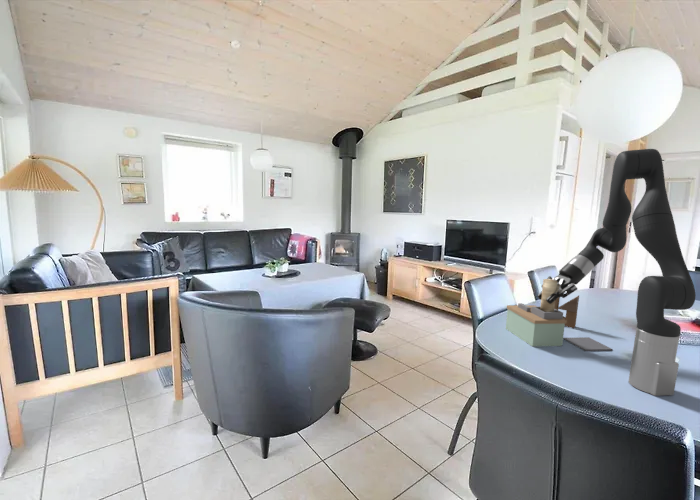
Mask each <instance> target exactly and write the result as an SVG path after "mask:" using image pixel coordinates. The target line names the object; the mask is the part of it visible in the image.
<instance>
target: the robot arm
mask: <svg viewBox="0 0 700 500" xmlns="http://www.w3.org/2000/svg"><path fill="white" fill-rule="evenodd" d="M663 163H664V162H663V159H662V155H661V153H660V152H659V151H658V150H657V148H644V149H643V148H642V149H631V150H624V151H621V152H620V153H618V155H617V156H616V158H615V160H614V163H613V168H612V174H611V183H610V190H609V197H608V204H607V207H606V211H605V213H604V217H603V219H602V220H603V221H602V227H600V228H598V229H596V230H595V231H594V232H593V234H592V235H591V237H590V239H589V241H588V243H587V244H586V245H585V247H584V248H583V249H582V250H581V251H579V252H578V253H577V255H575V256H574V257H572V258H571V259H570V260H569V261H568V262H566V264H565V265H564V266H563V267H561V269H559V271H558V275H556V276H554V277H552V276H551V275H550V276H547V278H546V279H552V280H556V281H557V287H556V290H555V292H554V293H553V294H551V295H550V296H549V297H548V298H547V299H546V301H547V302H548V303H549V304H551V303H552V302H554V301H555V300H556V299H557V298H560V299H561V298H562V299H565V298H567V297H568V296H570V295H571V294H573V293H574V292H575V291H578V287H577V286H576V285H578V284H579V283H580V282H581V281H582V280H583V279H585V277H587V276H588V275H589V274H590V272H592V270H593V269H594V268H595V267H596V266H598V264H600V262H601V261H602V260H603V259H604V257H605V255H604V253H603V252H602V251H601V250H600V248H602V249H605V250H606V251H608V252H611V253H618V252H620V251H622V250H623V249H624V247H625V246H626V243H627V236H628V235H627V224H628V222H629V218H630V217H631V223H632V226H633V231H634V235H635V238H636V240H637V241H638V242H639V244H641V246H642V247H643V248H644V249H645V250H646V251H647V253H649V254H650V255H651V257H652V258H653V259H654V260H655V261H656V263H657V264H658V265H659V268H660V270H661V271H660V272H661V273H662V274H661V275H648V276H645V277H643V279H642V280H641V281H640V283H639V286H638V289H637V297H636V299H637V300H636V309H635V318H636V329H635V335H634V342H633V348H632V354H631V362H630V367H629V368H630V369H629V376H628V384H629V385H631V386H632V387H634V388H636V389H637V390H639V391H642V392H644V393H647V394H651V395H652V396H654V397H655V396H658V397H659V396H674V395H675V389H676V383H677V378H678V371H679V367H680V365H679V363H678V362H676V360H677V358H676V357H677V353H678V346H679V343H680V342H679V341H680V336H681V330H682V328H681V325H680V324H678V323H676V322H674V321H672V320H669V319H667V318H665V310H674V311H676V310H677V311H680V310H681V311H685V310H689V309H691V308H692V307H693V306H694V305H695V302H696V298H697V297H696V290H695V285H694V282H693V279H692V278H691V276H692V275H691V274H690V271H689V270H688V266H687V264H686V262H685V259H684V255H683V253H682V250H681V246H680V241H679V238H678V235H677V229H676V224H675V220H674V216H673V212H672V209H671V206H670V202H669V197H668V192H667V189H666V182H665V173H664V164H663ZM638 179H639V180H644V182H645V192H644V193H643V196H642V197H641V199H640V201H639V202H638V204H637V206H636V207H635V209H634V211H633V213H632V204H631V201H630V199H629V197H628V195H627V193H626V190H625V183H626V181H627V180H638ZM631 213H632V216H631ZM598 247H600V248H598ZM541 288H543V284H542V285H541ZM541 297H542V290H541V291H540V292H539V293H538V294H537V298H538V299H539V300H540V301H541Z"/></svg>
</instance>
